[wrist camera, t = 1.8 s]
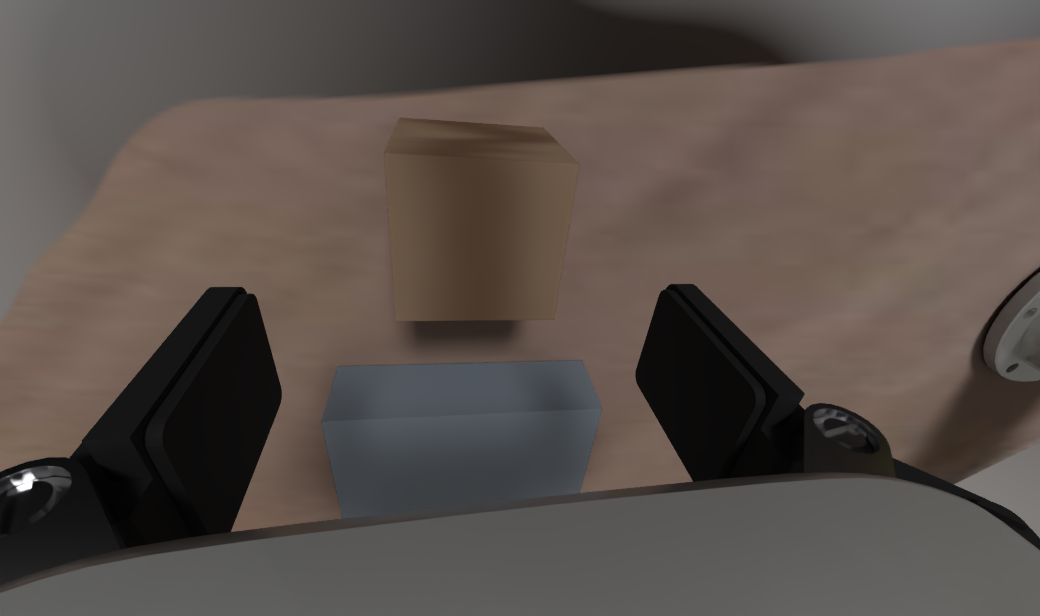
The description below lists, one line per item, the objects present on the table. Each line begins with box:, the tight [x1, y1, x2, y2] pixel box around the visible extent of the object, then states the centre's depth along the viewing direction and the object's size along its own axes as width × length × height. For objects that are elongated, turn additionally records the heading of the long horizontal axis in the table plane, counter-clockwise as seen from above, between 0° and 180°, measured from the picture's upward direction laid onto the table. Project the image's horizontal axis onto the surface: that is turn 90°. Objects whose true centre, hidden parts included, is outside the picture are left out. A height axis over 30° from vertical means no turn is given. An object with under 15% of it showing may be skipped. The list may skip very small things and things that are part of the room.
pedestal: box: [321, 360, 602, 519], centre depth 27 cm, size 14×14×4 cm
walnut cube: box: [384, 118, 579, 321], centre depth 17 cm, size 6×6×6 cm
